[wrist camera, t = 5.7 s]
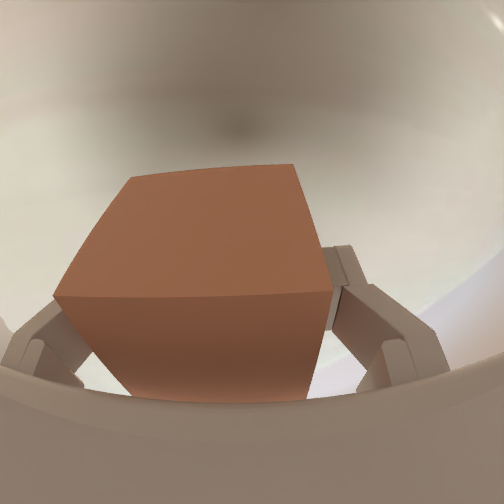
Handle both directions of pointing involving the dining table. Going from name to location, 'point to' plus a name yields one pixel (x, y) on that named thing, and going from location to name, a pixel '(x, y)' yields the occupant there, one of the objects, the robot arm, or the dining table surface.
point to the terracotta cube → (204, 286)
